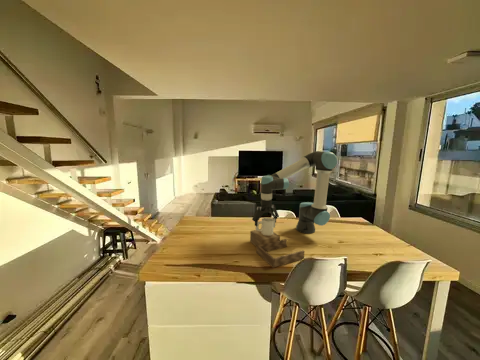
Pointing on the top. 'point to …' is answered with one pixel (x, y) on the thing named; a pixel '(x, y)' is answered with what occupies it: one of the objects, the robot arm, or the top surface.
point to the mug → (267, 226)
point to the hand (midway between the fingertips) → (265, 228)
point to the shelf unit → (273, 248)
